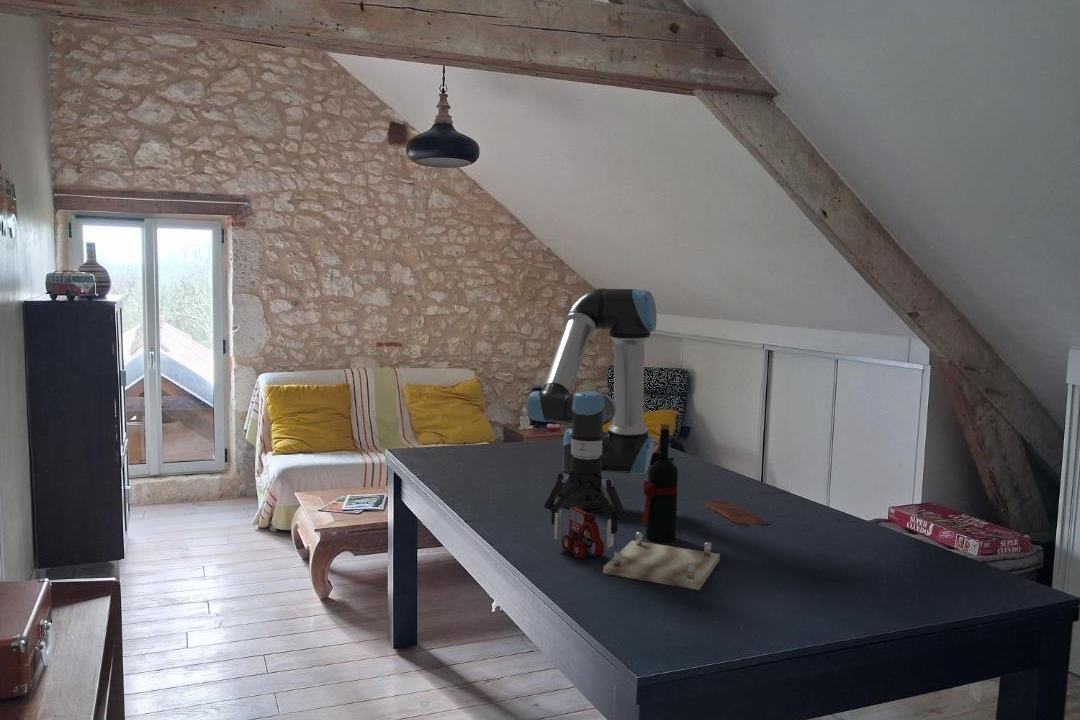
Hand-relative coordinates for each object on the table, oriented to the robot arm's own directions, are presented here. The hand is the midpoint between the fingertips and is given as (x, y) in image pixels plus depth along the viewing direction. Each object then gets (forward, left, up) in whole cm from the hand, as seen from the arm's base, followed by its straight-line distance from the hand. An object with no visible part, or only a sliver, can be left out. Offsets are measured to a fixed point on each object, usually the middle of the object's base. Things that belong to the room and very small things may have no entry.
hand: (583, 542), depth 198 cm
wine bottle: (+13, +20, -3) cm, 24 cm away
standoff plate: (+20, 0, -3) cm, 20 cm away
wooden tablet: (+26, +56, -4) cm, 62 cm away
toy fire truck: (0, 0, -3) cm, 3 cm away
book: (-24, +114, -4) cm, 117 cm away
